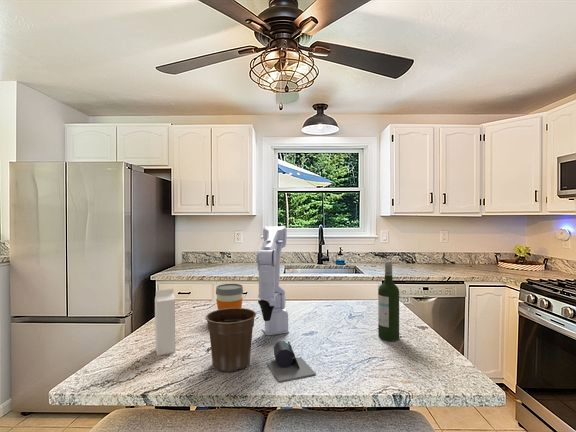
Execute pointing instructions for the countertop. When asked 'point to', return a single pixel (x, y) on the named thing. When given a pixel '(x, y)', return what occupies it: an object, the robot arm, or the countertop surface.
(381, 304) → the wine bottle
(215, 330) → the plant pot
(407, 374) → the countertop surface
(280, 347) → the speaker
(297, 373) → the mat
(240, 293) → the reusable coffee cup
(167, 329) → the milk
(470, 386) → the countertop surface
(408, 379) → the countertop surface
